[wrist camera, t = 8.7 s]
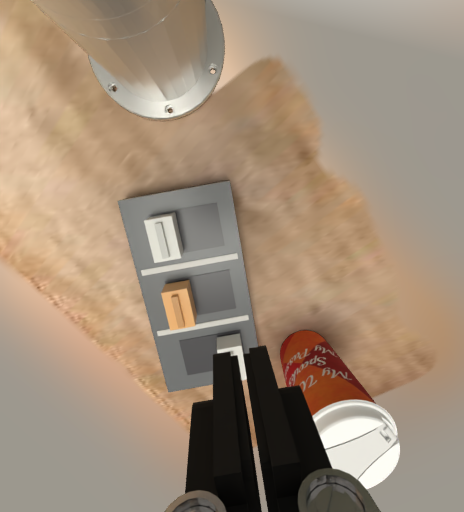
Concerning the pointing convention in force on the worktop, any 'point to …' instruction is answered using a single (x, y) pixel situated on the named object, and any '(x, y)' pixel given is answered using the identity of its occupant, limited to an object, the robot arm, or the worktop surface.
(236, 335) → the switch
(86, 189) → the worktop surface
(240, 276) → the switch panel
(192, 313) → the switch
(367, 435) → the coffee cup
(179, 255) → the switch
